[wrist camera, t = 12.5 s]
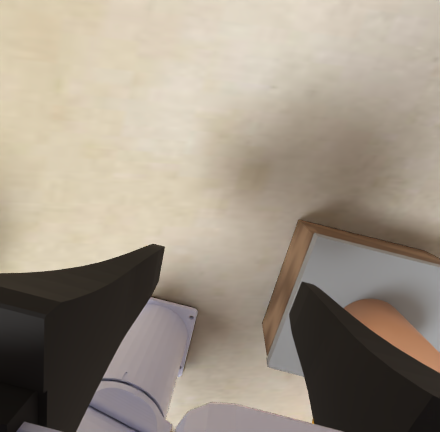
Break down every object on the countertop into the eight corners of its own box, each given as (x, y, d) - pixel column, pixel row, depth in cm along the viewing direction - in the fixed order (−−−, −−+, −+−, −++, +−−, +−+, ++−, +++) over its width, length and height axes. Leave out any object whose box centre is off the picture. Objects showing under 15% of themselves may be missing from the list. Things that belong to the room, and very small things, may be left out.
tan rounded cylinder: (384, 358, 18) (429, 422, 14) (324, 343, 18) (349, 401, 14) (412, 307, 17) (471, 360, 13) (347, 291, 17) (383, 338, 13)
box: (371, 350, 24) (396, 387, 20) (262, 323, 24) (266, 355, 21) (424, 250, 21) (467, 272, 17) (298, 219, 21) (312, 234, 17)
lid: (403, 395, 20) (409, 405, 19) (266, 359, 20) (267, 366, 20) (479, 274, 17) (491, 280, 16) (314, 232, 17) (317, 236, 16)
